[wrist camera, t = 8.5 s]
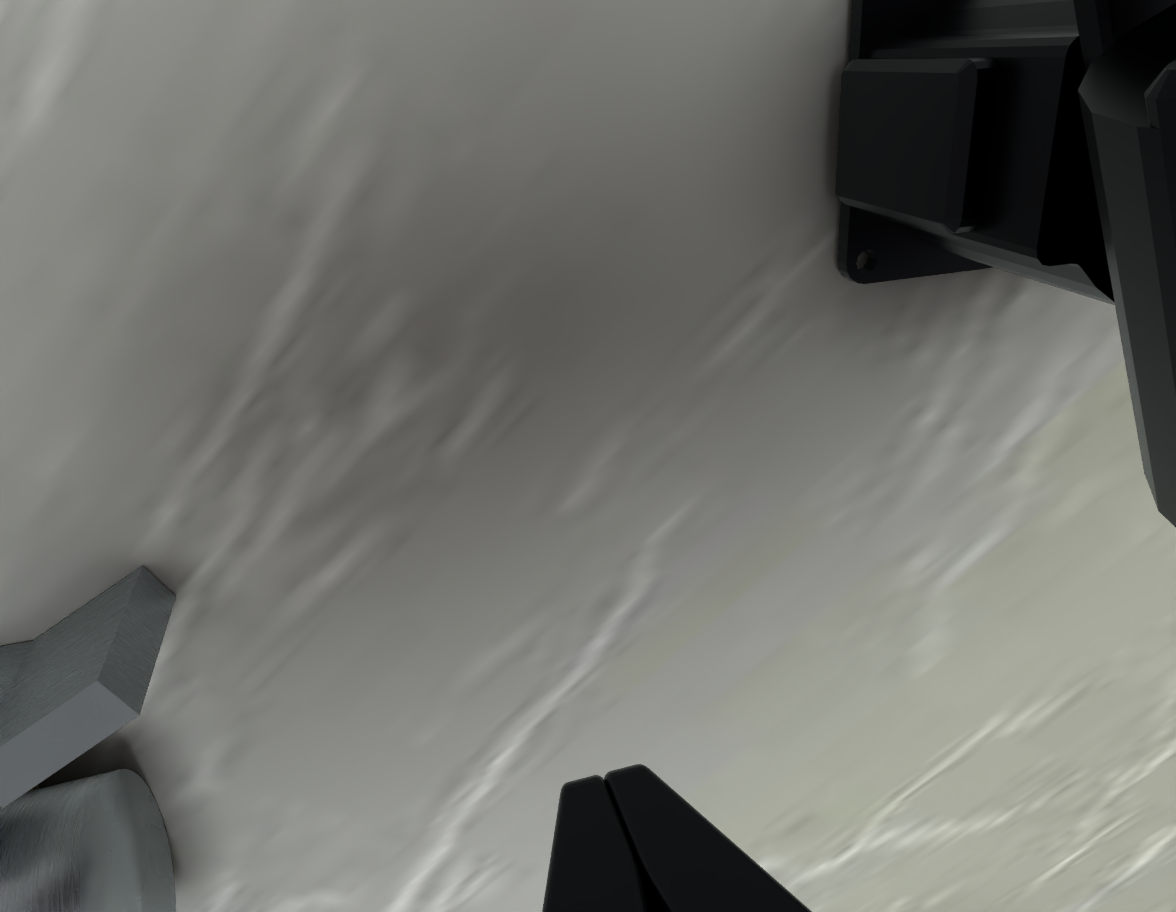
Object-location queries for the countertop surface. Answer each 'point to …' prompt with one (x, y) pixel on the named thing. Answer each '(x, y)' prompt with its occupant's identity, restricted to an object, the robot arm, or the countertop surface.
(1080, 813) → the countertop surface
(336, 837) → the countertop surface
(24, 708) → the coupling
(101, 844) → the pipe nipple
